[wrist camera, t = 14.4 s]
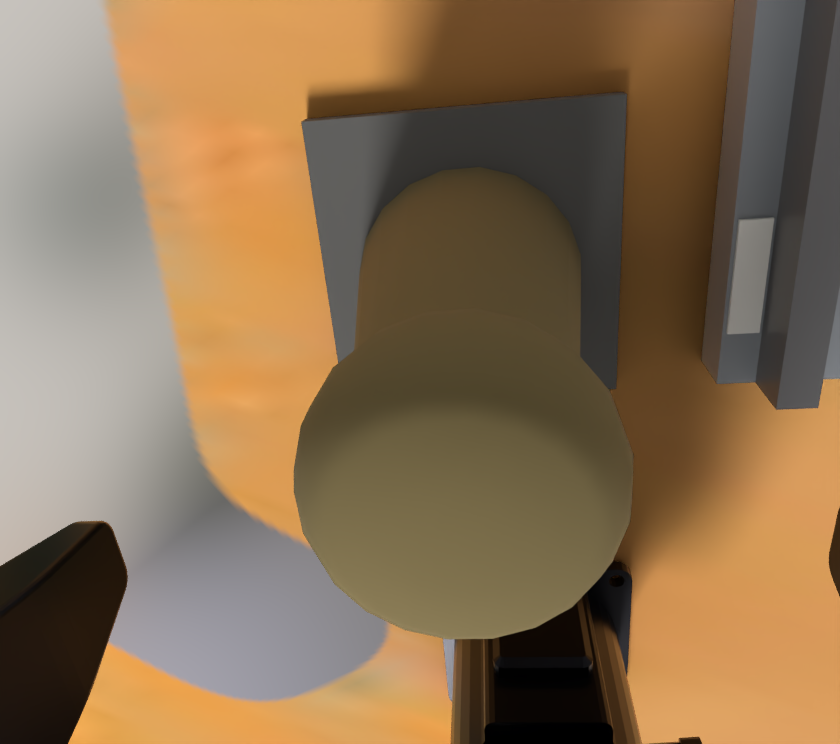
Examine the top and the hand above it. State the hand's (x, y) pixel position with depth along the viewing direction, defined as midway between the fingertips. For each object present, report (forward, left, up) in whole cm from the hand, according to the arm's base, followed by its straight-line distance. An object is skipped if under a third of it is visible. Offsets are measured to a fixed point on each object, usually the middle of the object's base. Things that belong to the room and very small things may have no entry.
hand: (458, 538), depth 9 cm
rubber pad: (0, 0, -12) cm, 12 cm away
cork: (-1, 0, -12) cm, 12 cm away
